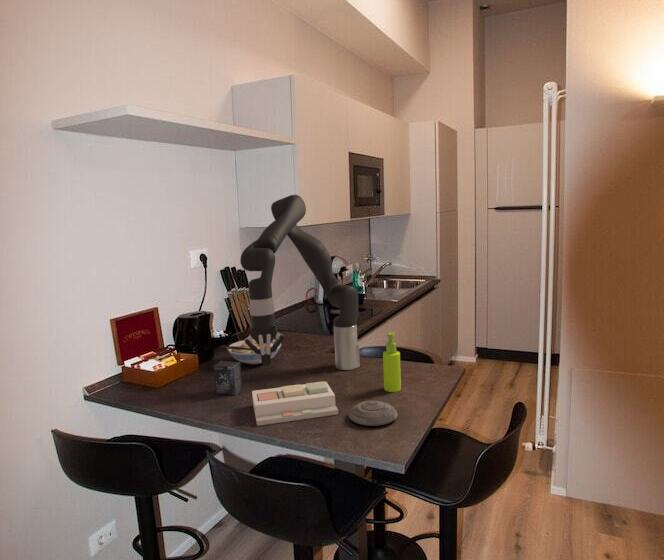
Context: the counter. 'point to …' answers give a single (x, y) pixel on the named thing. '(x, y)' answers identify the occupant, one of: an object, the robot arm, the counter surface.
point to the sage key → (316, 388)
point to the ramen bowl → (247, 352)
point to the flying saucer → (372, 413)
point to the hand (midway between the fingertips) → (266, 365)
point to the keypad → (293, 406)
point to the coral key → (267, 396)
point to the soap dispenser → (391, 366)
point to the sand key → (292, 391)
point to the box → (227, 378)
